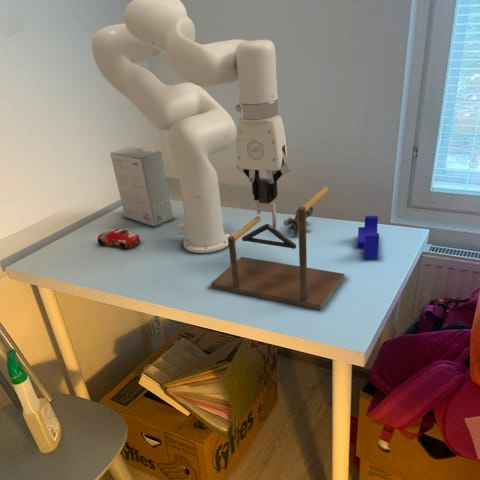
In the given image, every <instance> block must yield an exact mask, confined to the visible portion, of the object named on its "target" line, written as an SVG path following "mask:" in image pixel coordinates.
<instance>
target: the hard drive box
mask: <svg viewBox="0 0 480 480" xmlns="http://www.w3.org/2000/svg"><path fill="white" fill-rule="evenodd" d="M109 154H110V159H111V162H112V163H111V164H112V166H113V171H114V176H115V179H116V183H117V187H118V193H119V197H120V201H121V205H122V210H123V214H124V217H125V218H128V219H130V220H133V221H136V222H140V223H142V224H144V225H148V226H152V227H156V226H159V225H162V224H163V223H166V222H168V221H170V220H173V219H174V214H173V210H172V204H171V197H170V192H169V187H168V181H167V176H166V171H165V165H164V159H163V152H162V151H161V150H155V149H148V148H140V147H135V146H134V147H133V146H128V147H124V148H121V149H118V150H114V151H110V153H109Z"/></svg>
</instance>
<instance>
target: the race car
mask: <svg viewBox="0 0 480 480" xmlns="http://www.w3.org/2000/svg"><path fill="white" fill-rule="evenodd" d="M97 243H98V244H99V245H100V246H109V247H115V248H120V249H122V250H125V249H130V248H133V247H135V246H136V245H138V244H140V243H141V238H140V236H139V234H138V233H136V232H133V231H131V230H128V229H125V228H116V229H114V230H106V231H104V232H100V234H98V236H97Z"/></svg>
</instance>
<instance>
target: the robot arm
mask: <svg viewBox="0 0 480 480" xmlns="http://www.w3.org/2000/svg"><path fill="white" fill-rule="evenodd" d="M123 21H124V23H116V24H111V25H108V26H105V27H103V28H101V29H99V30H97V32H96V33H95V34H94V35H93V38H92V40H91V52H92V55H93V60H94V62H95V64H96V67H97V68H98V70H99V72H100V73H101V75H102V77H103V78H104V80H106V81H107V82H108V83H109V85H111V86H112V87H113V88H114V89H115V90H117V91H118V92H119V93H120V94H122V96H124V97H125V98H127V99H128V100H129V101H130V102H131V104H132V105H133V106H134V107H135V109H137V110H138V111H139V112H140V113H141V114H142V115H143V117H145V118H146V119H147V120H148V121H149V122H150V123H151V124H152V125H153V126H154V127H155V128H157V129H158V130H160V131H168V134H167V142H168V147H169V150H170V152H171V156H172V158H173V161H174V164H175V167H176V174H177V177H178V183H179V188H180V195H181V200H182V201H181V202H182V208H183V213H184V220H185V224H184V223H179V224H178V229H177V230H176V234H178V235H183V236H184V240H183V247H184V249H185V250H187V251H188V252H191V253H195V254H207V253H208V254H209V253H214V252H219V251H221V250H223V249H224V248H227V247H229V245H228V237H230V236H231V235H230V233H229V232H226V231H225V229H224V219H223V211H222V203H221V195H220V186H219V177H218V173H217V171H216V169H215V168H214V166H213V165H212V163H211V162H210V160H209V157H210V156H212V155H214V154H215V155H216V154H218V153H220V152H223V151H225V150H227V149H229V148H230V147H232V146H233V145H234V143H236V144H235V146H236V149H235V150H236V166H235V167H236V169H237V170H239V171H240V172H242V173H244V174H245V176H246V178H248V180H249V182H250V183H251V189H252V196H253V200H254V201H256V202H257V201H259V196H258V183H257V180H259V179H260V178H261V171H264V172H266V173H267V179H268V184H267V185H266V188H267V201H268V202H272V203H273V201H274V200H276V199H277V197H278V181H279V180H280V178H281V177H282V176H285V175H286V174H288V173H289V172H292V169H293V168H292V166H291V164H290V162H289V160H288V148H287V140H286V137H287V136H286V132H285V126H284V123H283V119H282V116H281V115H279V99H278V78H277V77H278V76H277V75H278V74H277V57H276V46H275V44H274V42H273V41H272V40H270V39H254V40H246V39H240V38H235V39H227V40H221V41H216V42H215V41H214V42H211V43H205V44H203V43H198V42H196V41H195V40H196V27H195V24H194V22H193V21H192V19H191V18H190V17H189V16H188V12H187V9H186V7H185V5H184V4H183V2H182V1H181V0H131V1H129V3H128V4H127V6H126V7H125V10H124V13H123ZM163 54H164V55H166V58H167V61H168V63H169V66H170V67H171V68H172V70H173V71H174V74H176V75H177V76H179V78H182V79H183V80H186V81H187V82H181V83H177V84H171V85H170V84H165V83H164V82H162V81H161V80H160V79H158V77H157V76H156V75H155V74H154V73H153V72H151V71H150V70H148V69H147V68H145V67H143V66H141V65H138V64H136V63H140V62H147V61H151V60H154V59H156V58H159V57H161V55H163ZM235 82H237V83H238V95H239V104H236V105H235V111H236V112H239V114H240V118H238V119H237V124H235V120H233V118H232V117H231V115H230V113H228V111H227V110H226V109H225V108H224V107H223V106H222V105H220V103H219V102H217V101H216V100H215V99H214V98H213V96H212V95H210V94H209V93H208V92H207V90H206V89H208V88H209V89H210V88H215V87H218V86H222V85H226V84H230V83H235ZM204 88H206V89H204Z"/></svg>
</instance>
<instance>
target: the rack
mask: <svg viewBox="0 0 480 480" xmlns="http://www.w3.org/2000/svg"><path fill="white" fill-rule="evenodd" d="M329 189H330V188H329V187H327V186H324V187H322V189H320V190H319V191H318V192H317V193H316V194H315V195H313V196H312V197H311V198H310V199H309V200H308V201H307V202H306V203H304V204H302V206H299V207H297V210H298V230H299V231H298V259H299V261H298V262H299V264H298V265H296V264H295V265H293V264H289V263H288V264H287V263H283V262H276V261H271V260H264V259H258V258H251V257H245V256H241V257H240V258H237V248H236V241H237V240H238V239H239V238H242V237H243V236H244V235H245V234H246V233H247V232H248V231H250V229H252V228H253V227H254V226H256V225H257V224H258V223H259V222H261V221H262V220H261V216H255V217H254V218H253V219H252V220H250V221H249V222H247V224H245V225H244V226H243V227H241V228H240V229H239V230H238V231H236V232H235V233H234V234H232V235H230V237H228V252H229V263H230V266H229V267H228V268H226V270H225V271H223V273H221V274H220V275H219V276H218V277H217V278H215V279H214V280H213V281H212V282H211V283H210V286H211V288H212V289H215V290H221V291H225V292H226V291H227V292H230V293H231V292H232V293H236V294H240V295H244V296H245V295H246V296H250V297H256V298H260V299H265V300H270V301H274V302H279V303H284V304H289V305H294V306H299V307H303V308H309V309H313V310H317V311H321V310H322V309H323V307H325V305H326V304H327V303H328V301H329V300H330V298H331V297H332V295H334V293H335V292H336V290H337V289H338V288H339V286H340V285H341V283H343V281H344V280H345V273H342V272H335V271H331V270H325V269H318V268H312V267H308V266H307V265H308V262H307V261H308V259H307V258H308V257H307V254H308V253H307V231H306V228H307V224H306V222H307V218H306V211H307V210H309V209H310V208H311V207H312V208H313V206H315V204H316V203H318V202H319V201H320V200H321V199H322V198H323V197H325V195H327V194H328V192H329Z"/></svg>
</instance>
